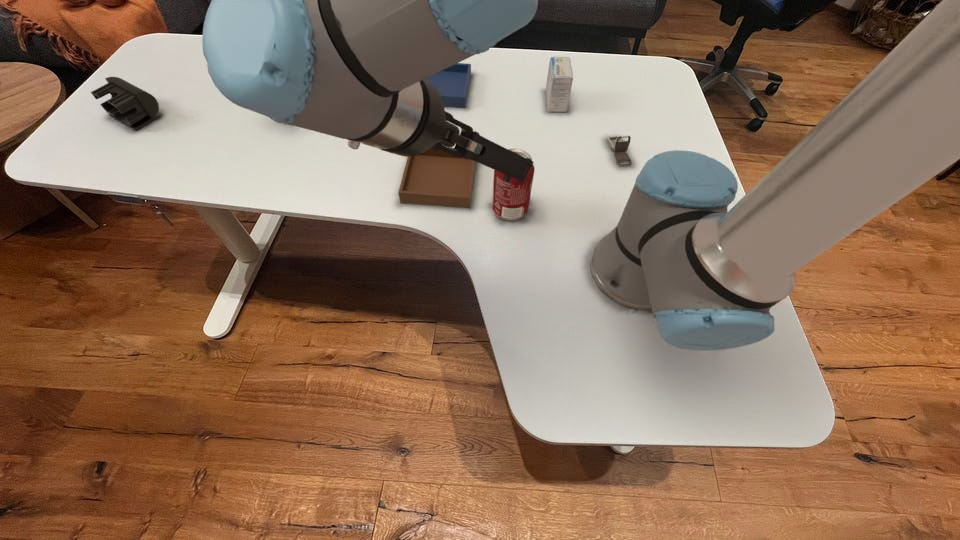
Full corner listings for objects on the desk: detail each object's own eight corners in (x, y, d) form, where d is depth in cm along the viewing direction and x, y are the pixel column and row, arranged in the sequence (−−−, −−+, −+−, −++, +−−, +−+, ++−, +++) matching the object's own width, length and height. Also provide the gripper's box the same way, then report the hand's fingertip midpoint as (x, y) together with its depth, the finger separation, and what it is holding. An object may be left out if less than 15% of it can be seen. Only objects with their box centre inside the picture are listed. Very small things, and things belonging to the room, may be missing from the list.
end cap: (167, 114, 95) (147, 86, 89) (137, 132, 91) (115, 104, 86) (138, 99, 98) (118, 71, 92) (108, 115, 94) (85, 87, 89)
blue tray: (465, 108, 98) (465, 97, 96) (407, 104, 98) (406, 93, 96) (470, 74, 105) (471, 63, 103) (417, 71, 106) (415, 60, 104)
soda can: (525, 225, 79) (533, 177, 69) (488, 219, 80) (491, 170, 70) (530, 198, 83) (538, 149, 73) (495, 193, 83) (498, 143, 74)
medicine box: (566, 112, 98) (574, 77, 91) (546, 112, 98) (553, 76, 91) (563, 91, 102) (570, 56, 95) (544, 91, 102) (550, 55, 95)
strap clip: (605, 139, 93) (610, 123, 89) (619, 138, 93) (625, 122, 90) (617, 167, 88) (624, 151, 85) (632, 166, 88) (638, 149, 85)
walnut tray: (470, 208, 81) (470, 198, 79) (400, 203, 82) (398, 192, 79) (476, 160, 89) (476, 149, 86) (412, 155, 89) (410, 144, 87)
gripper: (279, 98, 43) (397, 139, 63) (489, 206, 36) (548, 214, 55) (303, 21, 41) (416, 88, 61) (529, 119, 34) (575, 159, 54)
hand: (479, 148), depth 58 cm, fingers open, 13 cm apart
